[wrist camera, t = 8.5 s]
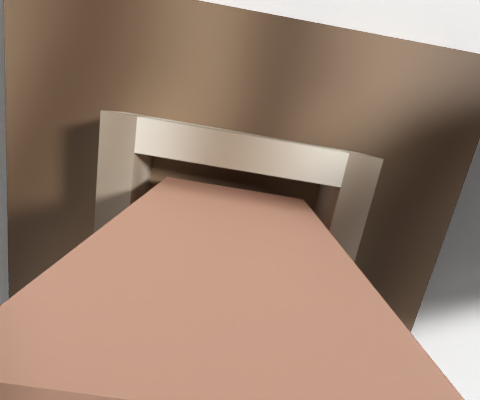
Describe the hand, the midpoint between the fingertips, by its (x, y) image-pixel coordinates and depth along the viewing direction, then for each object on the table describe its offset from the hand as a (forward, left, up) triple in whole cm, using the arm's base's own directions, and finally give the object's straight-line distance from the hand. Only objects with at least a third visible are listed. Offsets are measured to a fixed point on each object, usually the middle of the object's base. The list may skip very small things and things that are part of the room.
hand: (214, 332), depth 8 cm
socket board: (0, 0, -5) cm, 5 cm away
